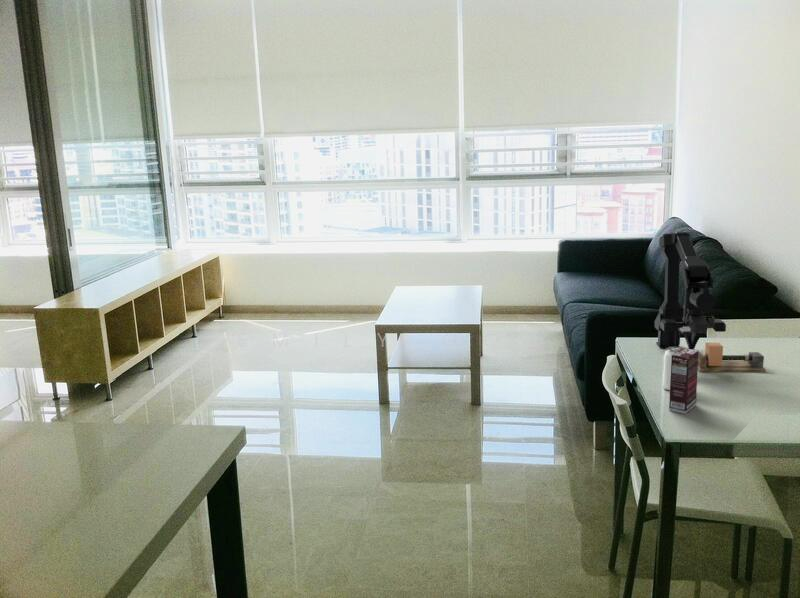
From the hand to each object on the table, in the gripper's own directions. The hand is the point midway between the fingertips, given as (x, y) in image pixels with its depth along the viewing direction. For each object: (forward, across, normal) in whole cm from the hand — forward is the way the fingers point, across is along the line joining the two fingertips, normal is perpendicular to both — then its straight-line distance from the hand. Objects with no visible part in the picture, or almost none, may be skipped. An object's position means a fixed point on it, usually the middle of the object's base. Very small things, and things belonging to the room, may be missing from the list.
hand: (691, 351), depth 239 cm
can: (+6, -10, -20) cm, 23 cm away
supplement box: (+6, -12, -36) cm, 38 cm away
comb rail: (+5, +12, 0) cm, 13 cm away
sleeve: (+4, +7, 0) cm, 8 cm away
